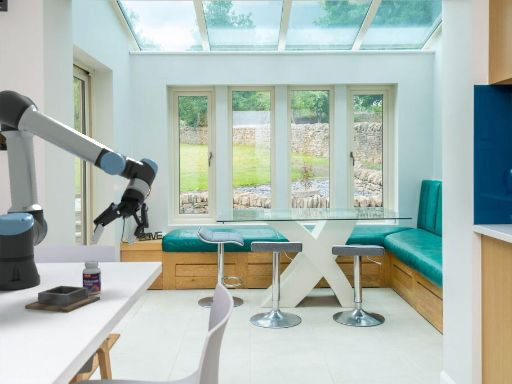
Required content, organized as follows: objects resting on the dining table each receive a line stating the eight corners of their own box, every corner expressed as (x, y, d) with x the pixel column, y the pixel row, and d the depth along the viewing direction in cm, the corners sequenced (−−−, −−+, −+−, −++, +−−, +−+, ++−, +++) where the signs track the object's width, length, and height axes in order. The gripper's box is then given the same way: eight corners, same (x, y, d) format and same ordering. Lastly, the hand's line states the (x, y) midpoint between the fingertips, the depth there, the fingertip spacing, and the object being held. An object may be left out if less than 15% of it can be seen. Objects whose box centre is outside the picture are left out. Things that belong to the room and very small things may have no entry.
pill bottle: (82, 295, 150) (81, 263, 150) (83, 291, 155) (82, 260, 155) (100, 294, 151) (100, 262, 151) (101, 290, 157) (101, 259, 156)
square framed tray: (25, 308, 136) (25, 294, 136) (59, 296, 150) (59, 283, 150) (68, 312, 132) (68, 298, 132) (99, 299, 146) (99, 286, 145)
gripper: (170, 202, 175) (149, 251, 162) (108, 201, 183) (84, 247, 169) (163, 187, 170) (141, 236, 156) (100, 187, 177) (73, 234, 164)
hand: (111, 242), depth 163 cm, fingers open, 13 cm apart
